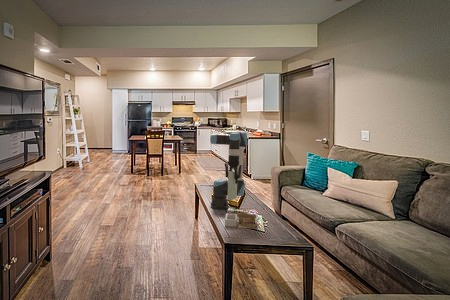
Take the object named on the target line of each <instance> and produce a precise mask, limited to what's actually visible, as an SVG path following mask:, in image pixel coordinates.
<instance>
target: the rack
mask: <svg viewBox="0 0 450 300" xmlns="http://www.w3.org/2000/svg"><path fill="white" fill-rule="evenodd" d="M236 214H237V227H236V228H237V229H252V228H257V229H258V220H257V219H258V218H257V214H255V213H241V212H239V213H236ZM242 218H250V219H251V220H253V221H254V223H255V224H254V225H240V224H239V223H240V222H239V221H240V220H241V219H242Z"/></svg>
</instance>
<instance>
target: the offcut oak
mask: <svg viewBox="0 0 450 300" xmlns="http://www.w3.org/2000/svg"><path fill="white" fill-rule="evenodd" d="M241 221H243V222H249V221H251V219H250V218H242V219H241Z"/></svg>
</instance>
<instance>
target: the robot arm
mask: <svg viewBox="0 0 450 300" xmlns="http://www.w3.org/2000/svg"><path fill="white" fill-rule="evenodd" d="M209 143H210V144H211V145H223V146H228V158H227V159H228V161H227V162H225V163H224V167H225V168H224V169H225V171H224V172H225V178H222V179H220V178H219V179H215V180H214V181H213V185H212V187H213V189H212V199H211V202H210V208H212V209H216V210H226V209H229V202H228V201H229V200H227V195H228V172H229V171H232V170H234V171H235V179H234V188H236V184H237V197H243V196H244V193H245V189H246V182H245V180H244V178H243V173H244V171H243V169H244V154H245V153H244V151H245V149H246V148H247V146H248V145H249V144H248V135H247V132H246V131H238V130H237V131H236V130H235V131H234V130H226V131H222V132H219V133H212V134H210V141H209ZM237 170H238V172H237Z"/></svg>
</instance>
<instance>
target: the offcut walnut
mask: <svg viewBox="0 0 450 300" xmlns="http://www.w3.org/2000/svg"><path fill="white" fill-rule="evenodd" d="M239 223H240V224H241V225H247V224H254V221H253V220H251V221H249V222H243V221H241V220H240V222H239ZM254 225H255V224H254Z"/></svg>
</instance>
